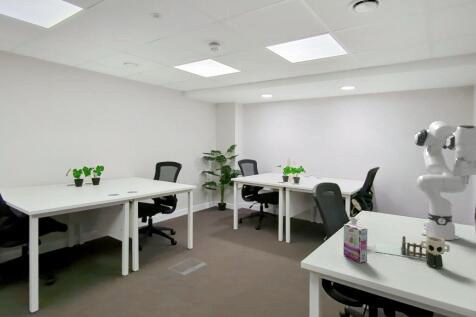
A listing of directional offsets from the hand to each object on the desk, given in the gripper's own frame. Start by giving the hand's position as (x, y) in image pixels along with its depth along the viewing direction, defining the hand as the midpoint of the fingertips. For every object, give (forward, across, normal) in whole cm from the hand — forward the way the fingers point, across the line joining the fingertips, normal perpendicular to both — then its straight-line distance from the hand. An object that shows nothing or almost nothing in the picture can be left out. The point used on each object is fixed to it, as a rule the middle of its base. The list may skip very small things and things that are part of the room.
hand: (465, 184), depth 138 cm
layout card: (+37, -21, +19) cm, 47 cm away
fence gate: (+36, -19, +19) cm, 45 cm away
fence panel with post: (+37, -22, +12) cm, 45 cm away
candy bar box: (+37, -51, +26) cm, 68 cm away
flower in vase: (+37, -29, +43) cm, 64 cm away
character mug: (+37, -27, +1) cm, 46 cm away
